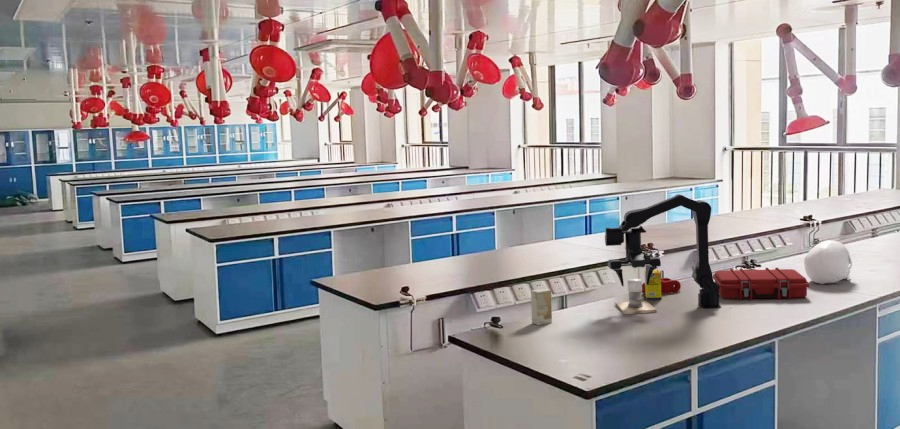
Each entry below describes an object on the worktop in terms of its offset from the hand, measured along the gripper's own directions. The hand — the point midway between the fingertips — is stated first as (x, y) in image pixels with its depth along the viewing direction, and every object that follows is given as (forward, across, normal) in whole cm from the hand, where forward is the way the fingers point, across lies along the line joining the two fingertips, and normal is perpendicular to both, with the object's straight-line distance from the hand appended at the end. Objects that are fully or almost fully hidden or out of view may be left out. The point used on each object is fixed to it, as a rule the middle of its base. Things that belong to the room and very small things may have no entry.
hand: (634, 285), depth 277 cm
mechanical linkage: (+10, +16, +24) cm, 30 cm away
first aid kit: (+10, +52, +12) cm, 54 cm away
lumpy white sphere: (+9, +87, +25) cm, 91 cm away
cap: (+2, 0, 0) cm, 2 cm away
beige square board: (+9, 0, 0) cm, 9 cm away
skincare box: (+9, -37, -12) cm, 40 cm away
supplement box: (+9, +11, +15) cm, 21 cm away
